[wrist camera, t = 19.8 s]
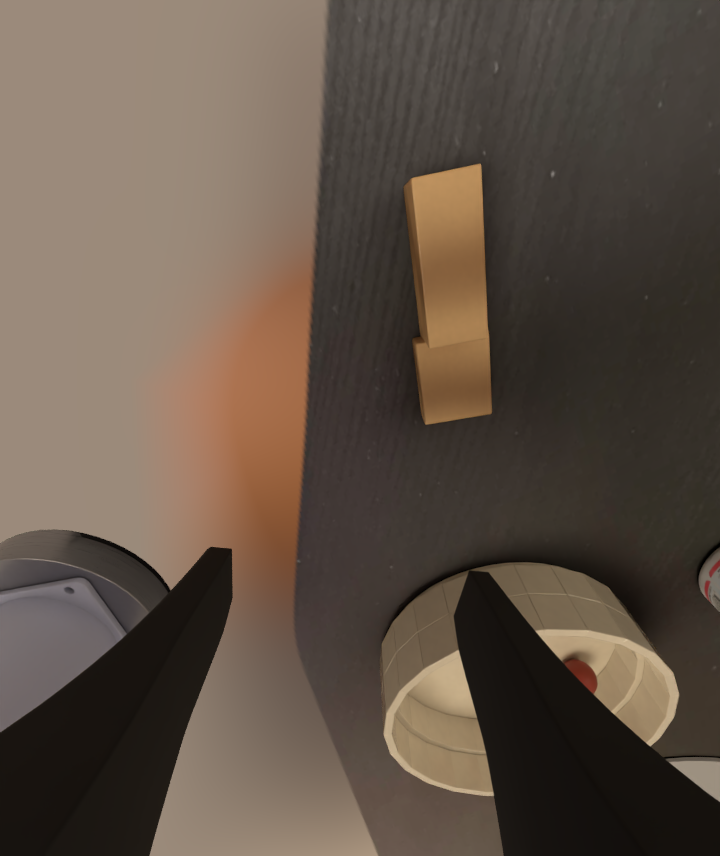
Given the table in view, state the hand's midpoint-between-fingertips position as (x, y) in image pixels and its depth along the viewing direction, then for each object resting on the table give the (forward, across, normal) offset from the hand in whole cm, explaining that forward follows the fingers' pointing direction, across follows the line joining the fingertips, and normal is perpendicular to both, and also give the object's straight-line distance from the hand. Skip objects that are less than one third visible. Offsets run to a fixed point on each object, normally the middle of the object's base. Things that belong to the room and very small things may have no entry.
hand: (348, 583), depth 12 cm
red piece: (+8, -17, +15) cm, 24 cm away
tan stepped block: (+9, -3, -7) cm, 12 cm away
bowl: (+9, -12, +15) cm, 22 cm away
